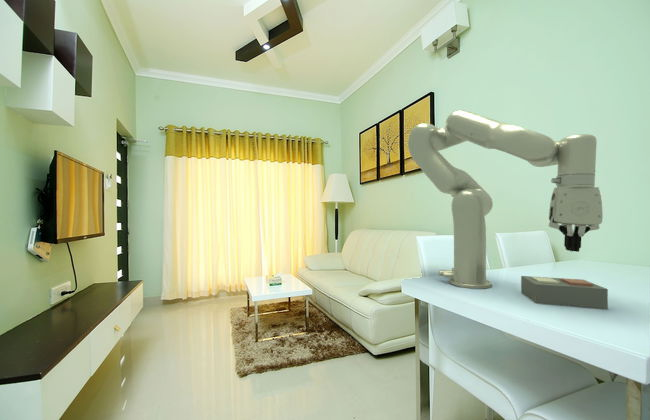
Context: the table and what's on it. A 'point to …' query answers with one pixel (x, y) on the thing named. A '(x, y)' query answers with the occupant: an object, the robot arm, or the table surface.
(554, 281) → the cream key
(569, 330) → the table surface
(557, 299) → the key panel
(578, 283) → the red key
